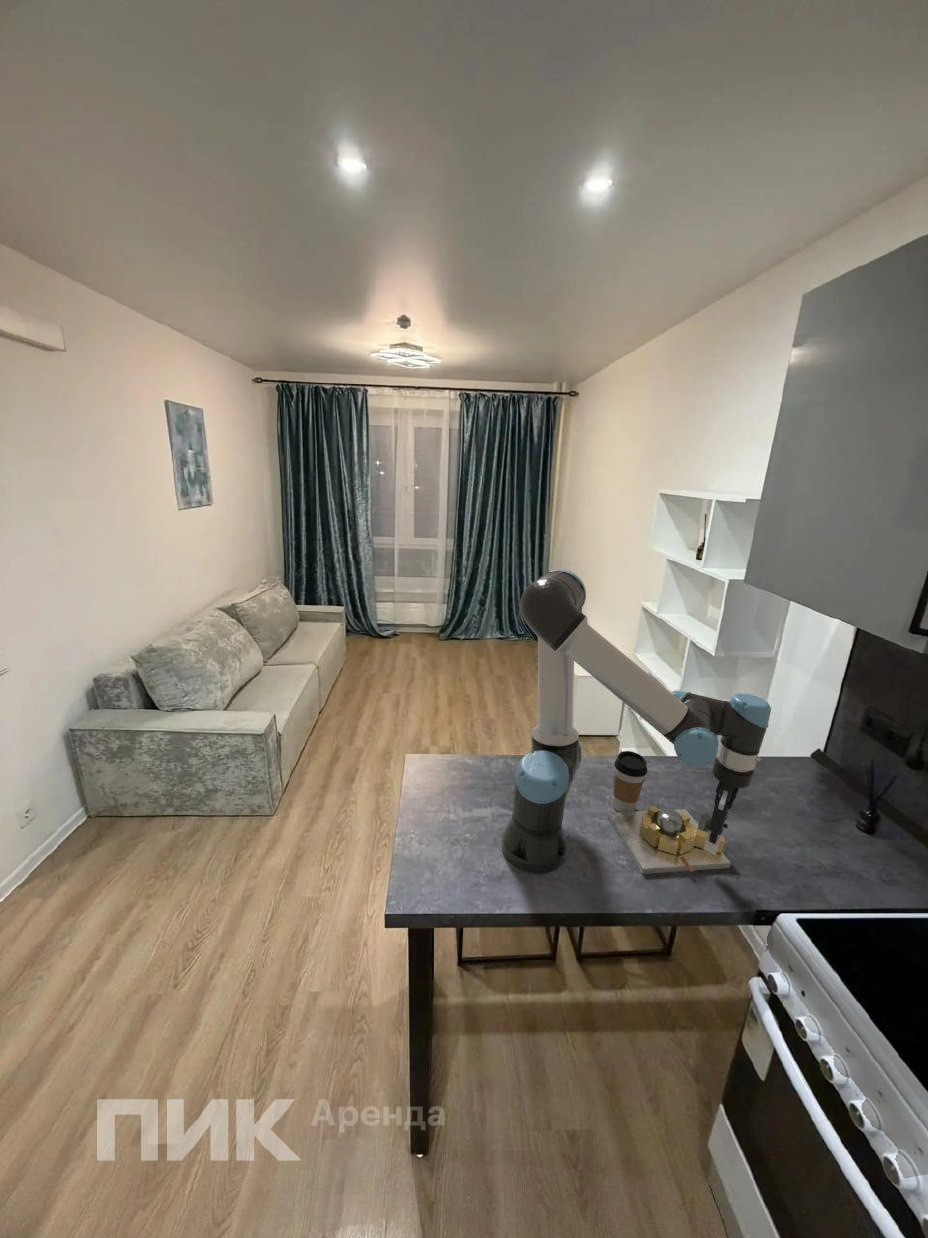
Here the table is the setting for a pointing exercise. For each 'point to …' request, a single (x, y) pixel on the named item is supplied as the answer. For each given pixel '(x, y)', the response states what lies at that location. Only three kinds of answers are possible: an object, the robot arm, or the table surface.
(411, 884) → the table surface
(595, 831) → the table surface
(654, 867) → the flange plate
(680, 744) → the robot arm
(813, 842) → the table surface
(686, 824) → the brass ball clamp
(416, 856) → the table surface
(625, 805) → the coffee cup
